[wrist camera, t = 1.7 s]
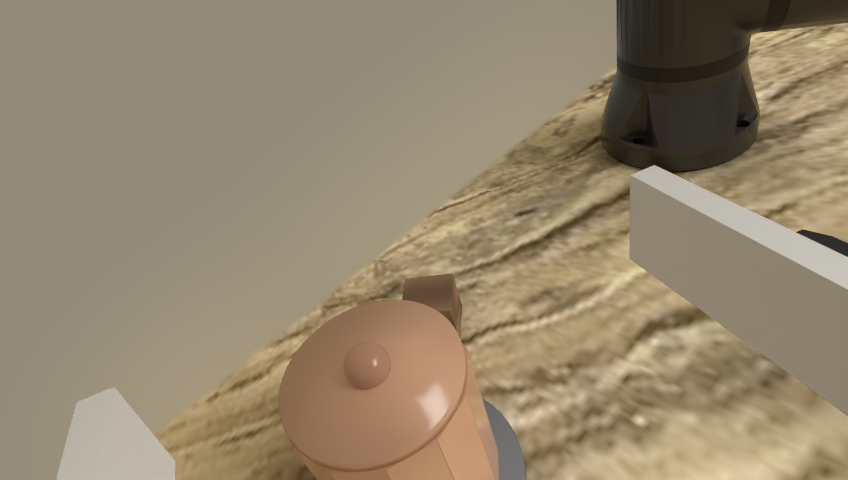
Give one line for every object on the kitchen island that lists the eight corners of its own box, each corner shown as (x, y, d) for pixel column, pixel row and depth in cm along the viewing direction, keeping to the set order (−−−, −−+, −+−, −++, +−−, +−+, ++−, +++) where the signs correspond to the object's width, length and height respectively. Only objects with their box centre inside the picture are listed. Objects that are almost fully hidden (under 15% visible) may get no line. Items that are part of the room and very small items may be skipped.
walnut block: (417, 311, 46) (405, 279, 43) (462, 306, 45) (452, 273, 42) (412, 347, 43) (399, 315, 40) (460, 343, 42) (450, 310, 39)
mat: (350, 398, 40) (347, 392, 40) (520, 386, 37) (518, 379, 37) (308, 594, 30) (302, 589, 30) (534, 597, 27) (532, 592, 27)
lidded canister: (363, 410, 38) (295, 290, 30) (496, 401, 36) (460, 270, 28) (334, 558, 31) (236, 450, 23) (501, 558, 28) (453, 438, 21)
